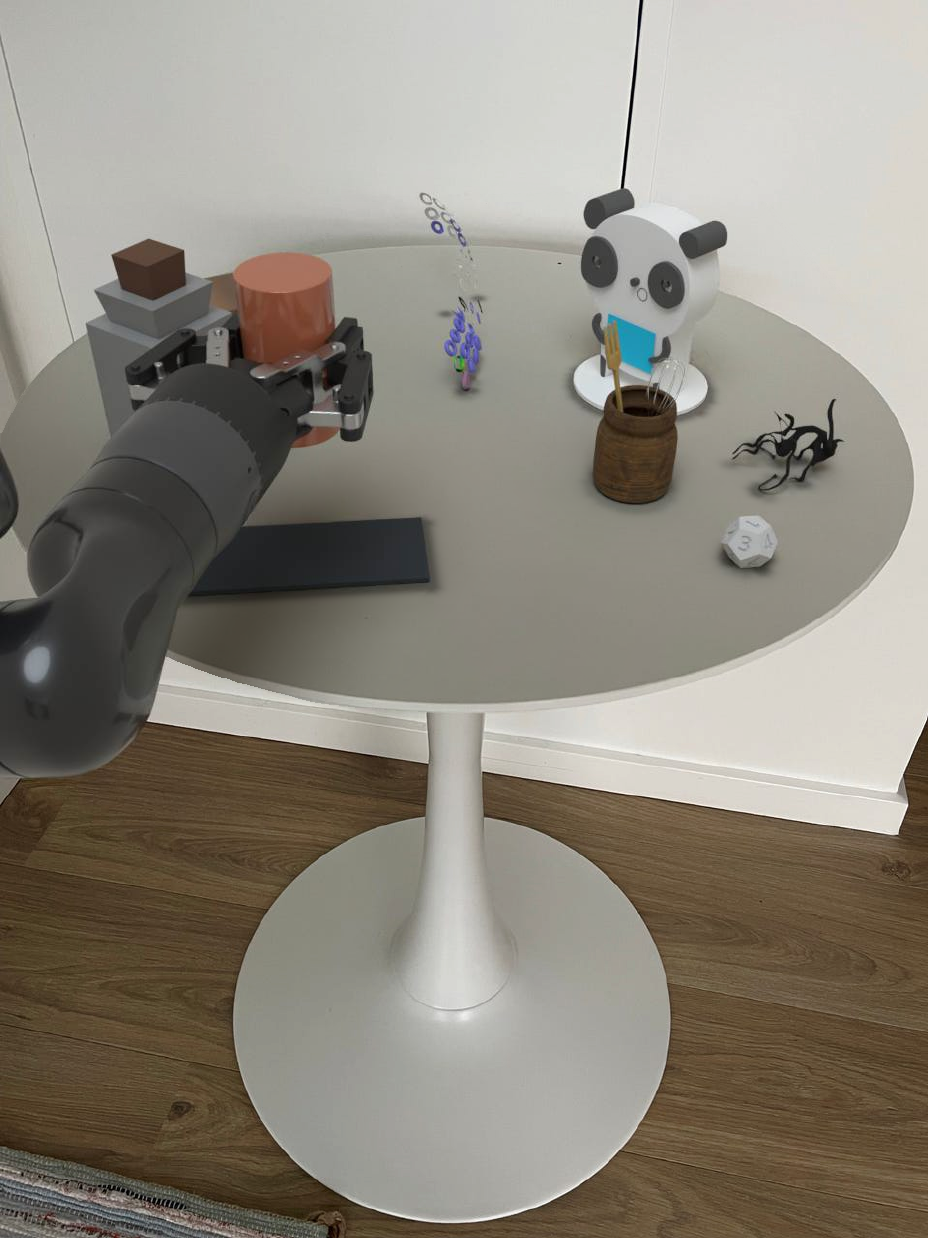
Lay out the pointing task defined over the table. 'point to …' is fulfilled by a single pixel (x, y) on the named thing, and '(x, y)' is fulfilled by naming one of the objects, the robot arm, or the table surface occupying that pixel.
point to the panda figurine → (648, 294)
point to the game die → (749, 541)
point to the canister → (285, 312)
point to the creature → (791, 445)
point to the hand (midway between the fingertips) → (303, 326)
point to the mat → (318, 557)
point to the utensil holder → (635, 435)
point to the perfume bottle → (144, 316)
